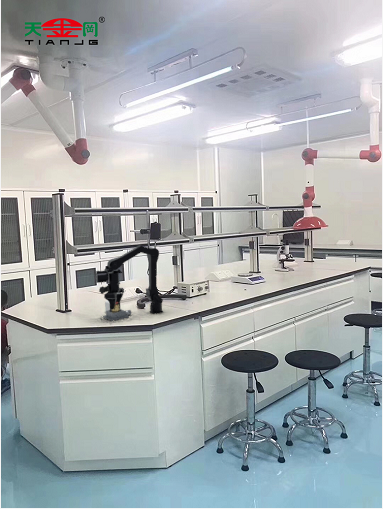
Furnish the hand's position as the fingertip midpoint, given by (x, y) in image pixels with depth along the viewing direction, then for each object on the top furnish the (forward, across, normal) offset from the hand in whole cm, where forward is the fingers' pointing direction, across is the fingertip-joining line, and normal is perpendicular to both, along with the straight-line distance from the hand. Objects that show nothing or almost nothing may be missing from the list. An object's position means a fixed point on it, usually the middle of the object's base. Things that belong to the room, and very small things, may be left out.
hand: (115, 307), depth 238 cm
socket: (+6, -2, +2) cm, 7 cm away
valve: (+5, 0, 0) cm, 5 cm away
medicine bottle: (+6, -14, -6) cm, 16 cm away
